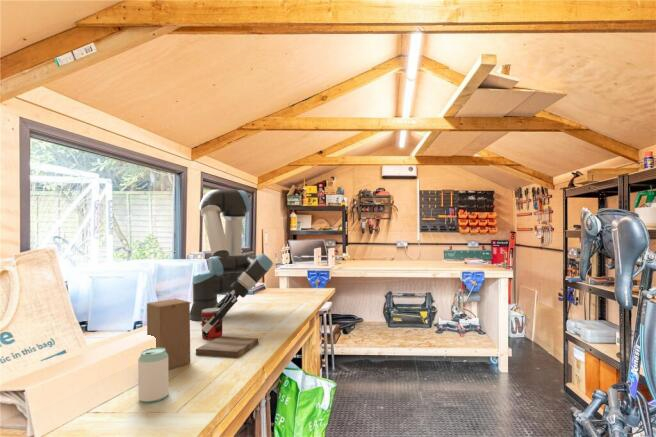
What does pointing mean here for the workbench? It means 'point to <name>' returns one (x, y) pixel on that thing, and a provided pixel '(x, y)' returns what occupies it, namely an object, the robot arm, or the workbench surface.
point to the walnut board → (227, 346)
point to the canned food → (216, 329)
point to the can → (153, 375)
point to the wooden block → (171, 329)
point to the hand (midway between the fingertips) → (203, 328)
